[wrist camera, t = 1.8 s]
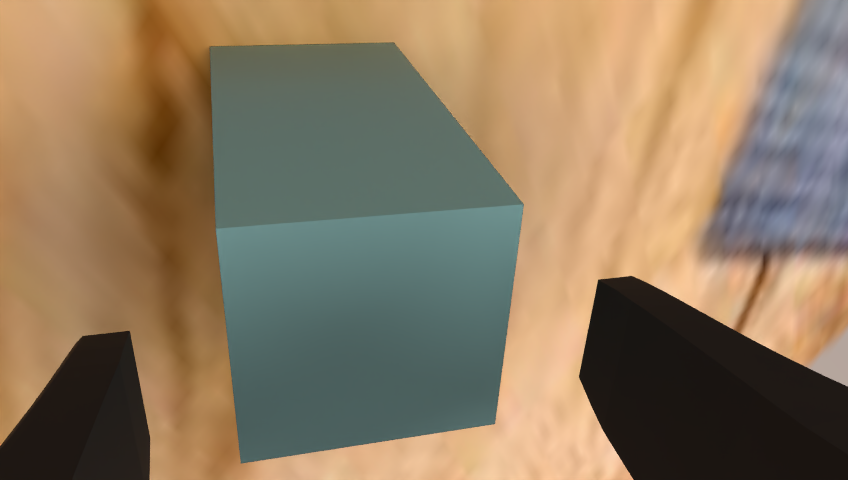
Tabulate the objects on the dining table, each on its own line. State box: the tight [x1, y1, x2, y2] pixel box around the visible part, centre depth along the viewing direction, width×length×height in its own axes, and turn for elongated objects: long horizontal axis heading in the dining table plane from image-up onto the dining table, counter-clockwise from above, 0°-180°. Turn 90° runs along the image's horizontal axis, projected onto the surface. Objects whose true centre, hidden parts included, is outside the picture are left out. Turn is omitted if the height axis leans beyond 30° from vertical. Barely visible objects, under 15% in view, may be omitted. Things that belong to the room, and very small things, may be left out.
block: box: [210, 43, 524, 463], centre depth 15 cm, size 4×4×9 cm
